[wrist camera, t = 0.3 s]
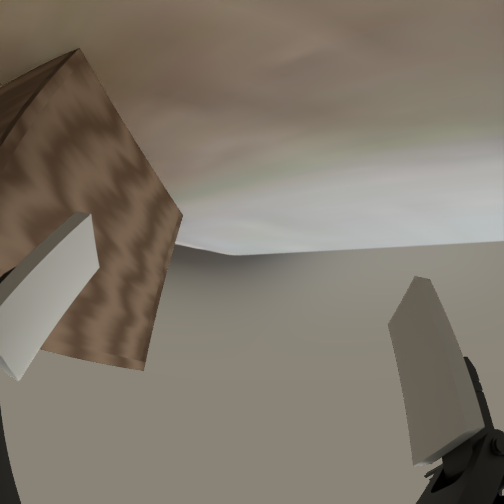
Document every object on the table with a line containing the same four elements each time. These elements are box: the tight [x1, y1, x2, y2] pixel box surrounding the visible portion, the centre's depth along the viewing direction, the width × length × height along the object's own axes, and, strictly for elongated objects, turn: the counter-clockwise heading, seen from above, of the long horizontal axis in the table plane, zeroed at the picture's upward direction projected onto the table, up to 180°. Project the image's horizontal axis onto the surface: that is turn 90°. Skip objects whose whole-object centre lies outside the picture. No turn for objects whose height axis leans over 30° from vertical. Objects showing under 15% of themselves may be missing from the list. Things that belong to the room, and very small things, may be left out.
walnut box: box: [0, 48, 183, 371], centre depth 28 cm, size 28×16×22 cm, turn 9°
